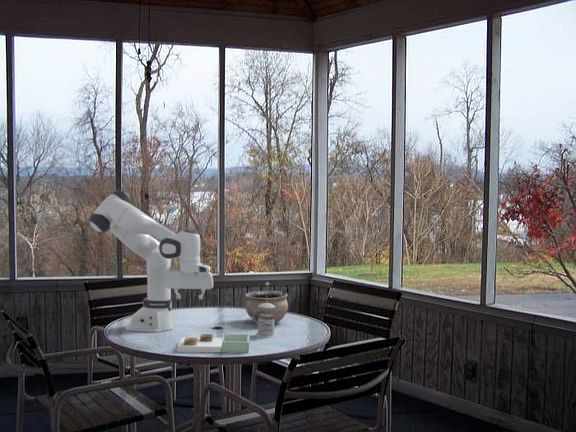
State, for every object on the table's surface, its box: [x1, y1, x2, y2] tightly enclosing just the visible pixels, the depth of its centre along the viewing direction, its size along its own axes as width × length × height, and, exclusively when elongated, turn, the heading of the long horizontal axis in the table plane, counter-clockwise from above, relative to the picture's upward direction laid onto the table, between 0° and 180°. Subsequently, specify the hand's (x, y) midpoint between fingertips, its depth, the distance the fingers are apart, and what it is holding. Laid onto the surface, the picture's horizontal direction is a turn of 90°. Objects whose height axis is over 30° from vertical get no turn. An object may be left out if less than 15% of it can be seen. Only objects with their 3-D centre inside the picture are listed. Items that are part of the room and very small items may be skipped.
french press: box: [252, 282, 277, 339], centre depth 301 cm, size 10×12×25 cm
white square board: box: [176, 336, 224, 353], centre depth 276 cm, size 18×16×2 cm
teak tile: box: [184, 338, 197, 345], centre depth 272 cm, size 5×5×2 cm
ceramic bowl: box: [245, 290, 289, 324], centre depth 330 cm, size 22×22×15 cm
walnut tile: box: [200, 333, 214, 341], centre depth 280 cm, size 5×5×2 cm
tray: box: [221, 333, 251, 354], centre depth 277 cm, size 11×15×4 cm
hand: (189, 299), depth 279 cm, fingers open, 8 cm apart
